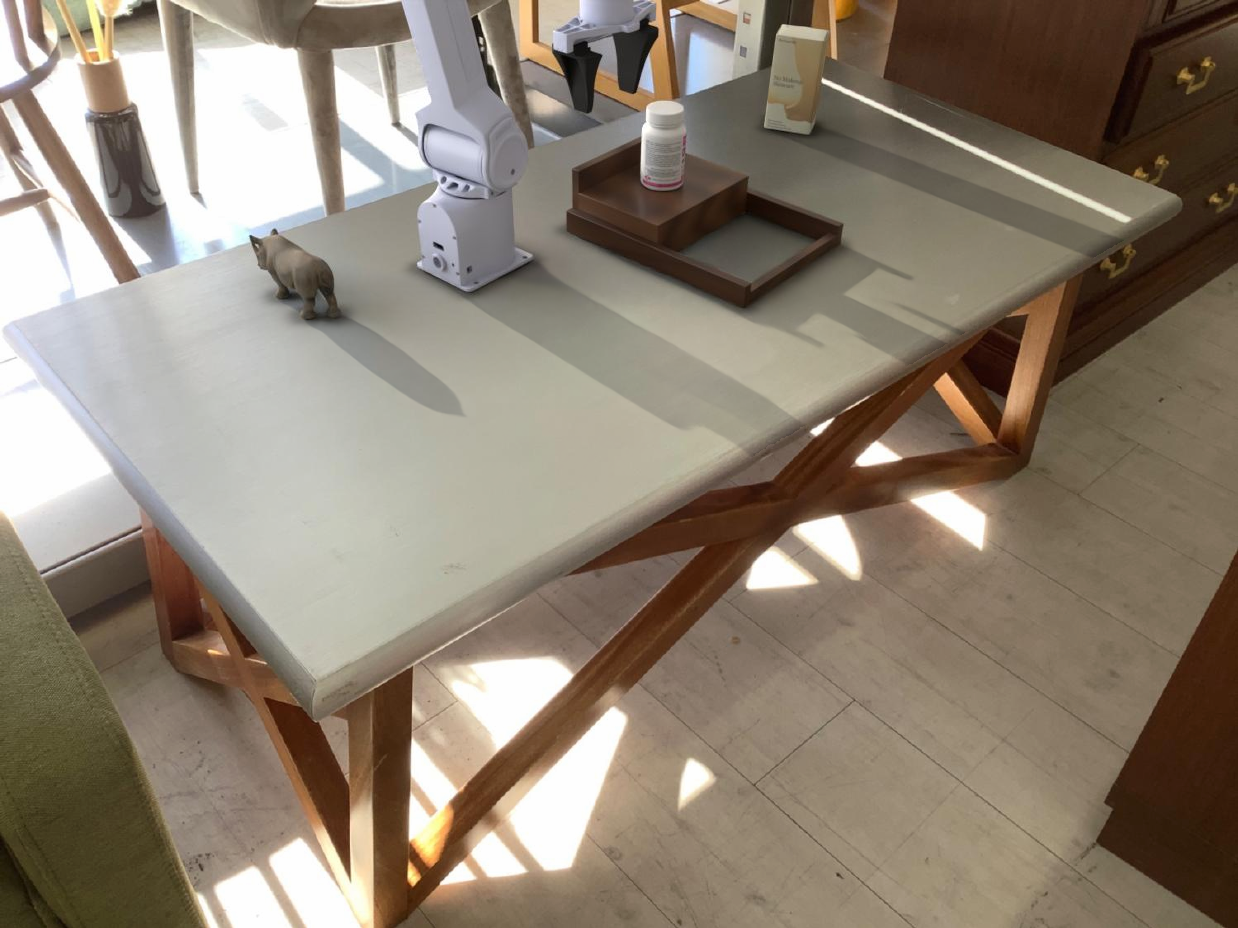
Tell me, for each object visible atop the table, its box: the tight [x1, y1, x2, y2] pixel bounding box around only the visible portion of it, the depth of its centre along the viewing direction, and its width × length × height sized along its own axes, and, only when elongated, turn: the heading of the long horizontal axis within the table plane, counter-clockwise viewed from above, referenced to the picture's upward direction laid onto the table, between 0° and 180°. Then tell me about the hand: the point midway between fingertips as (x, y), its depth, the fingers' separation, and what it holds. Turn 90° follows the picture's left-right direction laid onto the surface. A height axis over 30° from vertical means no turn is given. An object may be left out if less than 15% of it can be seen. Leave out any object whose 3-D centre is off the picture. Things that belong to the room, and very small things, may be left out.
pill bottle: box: [640, 100, 688, 191], centre depth 118 cm, size 5×5×8 cm
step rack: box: [565, 135, 844, 309], centre depth 119 cm, size 18×24×7 cm
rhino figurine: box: [248, 227, 342, 320], centre depth 109 cm, size 4×14×6 cm, turn 43°
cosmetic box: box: [763, 23, 830, 136], centre depth 141 cm, size 6×4×12 cm
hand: (605, 101), depth 123 cm, fingers open, 7 cm apart
